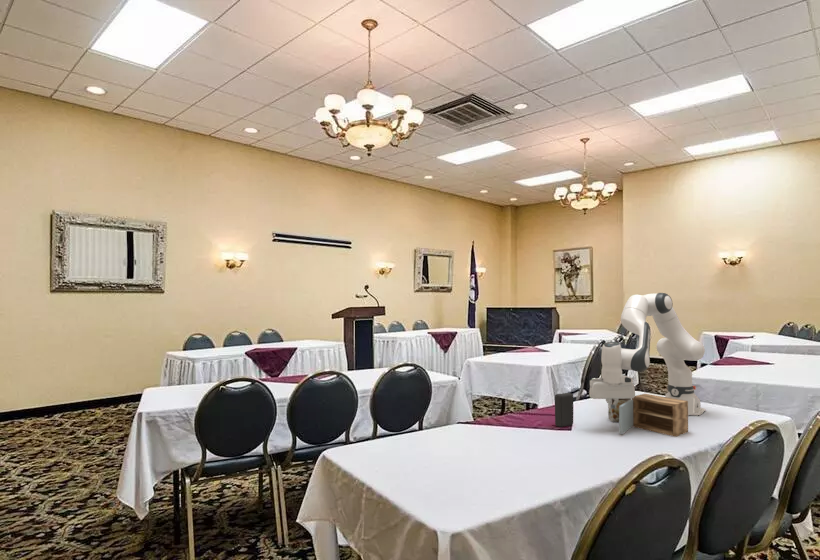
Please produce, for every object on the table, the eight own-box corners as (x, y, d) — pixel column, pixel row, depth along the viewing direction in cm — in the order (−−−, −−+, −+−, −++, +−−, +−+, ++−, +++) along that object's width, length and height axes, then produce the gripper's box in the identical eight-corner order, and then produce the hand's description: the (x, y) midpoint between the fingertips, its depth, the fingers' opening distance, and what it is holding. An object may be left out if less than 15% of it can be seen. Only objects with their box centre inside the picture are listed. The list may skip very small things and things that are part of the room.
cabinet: (645, 422, 238) (644, 393, 238) (688, 432, 222) (687, 401, 222) (631, 426, 231) (631, 396, 231) (675, 436, 215) (674, 404, 215)
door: (633, 425, 230) (633, 399, 230) (622, 434, 215) (622, 406, 216) (631, 424, 231) (630, 398, 231) (619, 433, 216) (619, 406, 216)
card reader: (567, 423, 237) (567, 392, 237) (574, 425, 233) (574, 393, 234) (554, 425, 232) (553, 393, 233) (560, 427, 229) (560, 395, 229)
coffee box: (612, 422, 238) (611, 389, 239) (608, 419, 245) (607, 386, 245) (631, 423, 237) (631, 389, 238) (627, 419, 244) (626, 387, 244)
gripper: (592, 379, 221) (592, 410, 221) (636, 378, 222) (637, 409, 222) (586, 376, 227) (587, 406, 227) (629, 376, 228) (630, 406, 228)
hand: (612, 408), depth 224 cm, fingers closed
